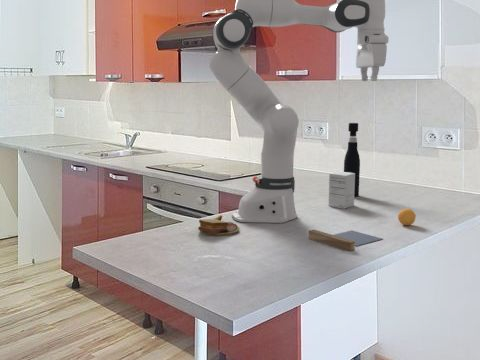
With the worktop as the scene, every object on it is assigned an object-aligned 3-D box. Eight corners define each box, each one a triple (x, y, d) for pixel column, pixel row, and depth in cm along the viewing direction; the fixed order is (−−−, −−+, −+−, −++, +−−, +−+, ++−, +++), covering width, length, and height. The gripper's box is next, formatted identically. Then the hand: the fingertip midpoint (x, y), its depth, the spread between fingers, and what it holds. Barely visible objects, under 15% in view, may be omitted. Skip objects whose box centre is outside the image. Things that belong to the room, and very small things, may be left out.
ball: (401, 227, 179) (402, 210, 178) (394, 223, 185) (395, 207, 184) (418, 226, 180) (419, 210, 179) (410, 222, 185) (411, 206, 184)
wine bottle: (356, 194, 233) (359, 122, 228) (360, 197, 227) (363, 123, 222) (341, 194, 233) (343, 122, 228) (344, 197, 227) (347, 123, 222)
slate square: (356, 246, 158) (356, 245, 158) (325, 237, 168) (325, 236, 168) (382, 239, 166) (382, 238, 166) (351, 230, 175) (351, 230, 175)
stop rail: (349, 251, 154) (350, 242, 153) (308, 238, 166) (308, 230, 166) (354, 249, 155) (354, 241, 154) (313, 237, 167) (313, 229, 167)
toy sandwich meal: (247, 233, 173) (247, 218, 172) (211, 240, 165) (211, 224, 164) (224, 225, 183) (224, 211, 182) (189, 231, 175) (189, 216, 174)
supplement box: (337, 203, 216) (338, 170, 214) (354, 205, 211) (355, 172, 209) (327, 206, 210) (328, 173, 208) (345, 208, 206) (346, 175, 204)
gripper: (352, 41, 197) (350, 81, 199) (371, 36, 177) (369, 80, 179) (369, 41, 198) (368, 81, 200) (390, 37, 177) (388, 80, 180)
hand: (369, 81), depth 189 cm, fingers open, 8 cm apart
